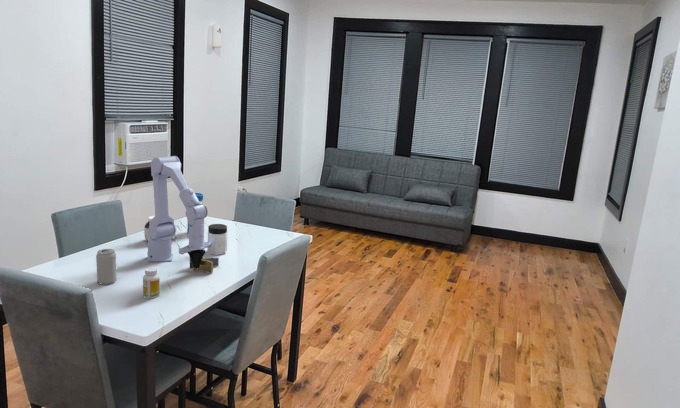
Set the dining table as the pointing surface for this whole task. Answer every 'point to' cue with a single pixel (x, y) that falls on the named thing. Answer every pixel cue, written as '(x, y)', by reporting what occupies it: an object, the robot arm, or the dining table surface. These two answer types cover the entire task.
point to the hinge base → (215, 260)
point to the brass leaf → (205, 266)
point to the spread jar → (148, 228)
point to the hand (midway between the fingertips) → (196, 267)
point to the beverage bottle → (200, 198)
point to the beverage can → (106, 266)
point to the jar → (217, 238)
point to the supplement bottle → (151, 283)
